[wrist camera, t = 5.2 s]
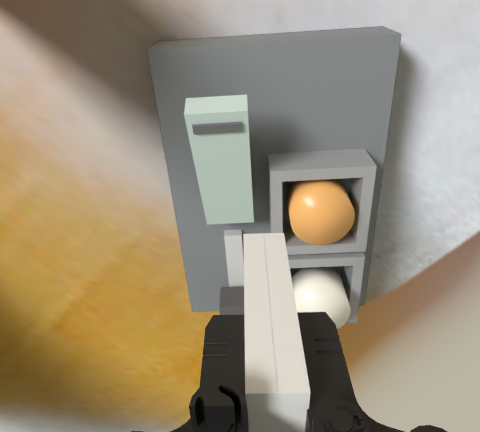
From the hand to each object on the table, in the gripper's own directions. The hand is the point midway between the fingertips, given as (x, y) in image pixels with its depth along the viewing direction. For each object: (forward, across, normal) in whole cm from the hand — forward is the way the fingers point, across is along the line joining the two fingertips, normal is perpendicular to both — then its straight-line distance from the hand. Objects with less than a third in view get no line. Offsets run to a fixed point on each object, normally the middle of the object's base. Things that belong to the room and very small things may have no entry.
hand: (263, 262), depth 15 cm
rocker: (+12, -2, -1) cm, 12 cm away
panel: (+19, +2, -6) cm, 20 cm away
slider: (+14, -2, -14) cm, 20 cm away
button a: (+13, +5, -13) cm, 19 cm away
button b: (+14, +5, -5) cm, 16 cm away
